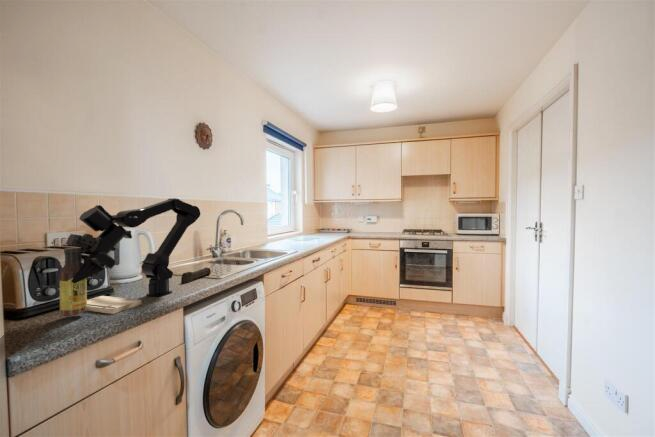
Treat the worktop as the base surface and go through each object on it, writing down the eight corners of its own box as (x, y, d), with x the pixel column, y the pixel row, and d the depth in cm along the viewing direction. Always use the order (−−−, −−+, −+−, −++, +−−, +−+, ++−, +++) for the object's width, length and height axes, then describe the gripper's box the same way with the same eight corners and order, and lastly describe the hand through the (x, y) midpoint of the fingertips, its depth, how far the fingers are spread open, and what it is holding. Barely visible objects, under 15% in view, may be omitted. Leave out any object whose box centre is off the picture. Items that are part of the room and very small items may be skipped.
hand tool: (204, 274, 149) (203, 265, 149) (211, 275, 148) (210, 266, 148) (176, 284, 131) (176, 273, 130) (183, 284, 130) (183, 274, 129)
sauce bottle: (76, 317, 86) (74, 249, 86) (54, 317, 86) (51, 250, 85) (92, 309, 93) (90, 246, 92) (72, 309, 93) (69, 246, 92)
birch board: (102, 299, 107) (102, 295, 107) (141, 304, 102) (141, 299, 102) (70, 309, 97) (69, 304, 97) (111, 314, 92) (111, 309, 92)
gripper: (71, 223, 96) (26, 263, 87) (102, 225, 88) (57, 268, 78) (99, 244, 104) (61, 283, 94) (131, 248, 95) (92, 290, 86)
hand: (67, 281), depth 88 cm, fingers closed on sauce bottle, 6 cm apart
